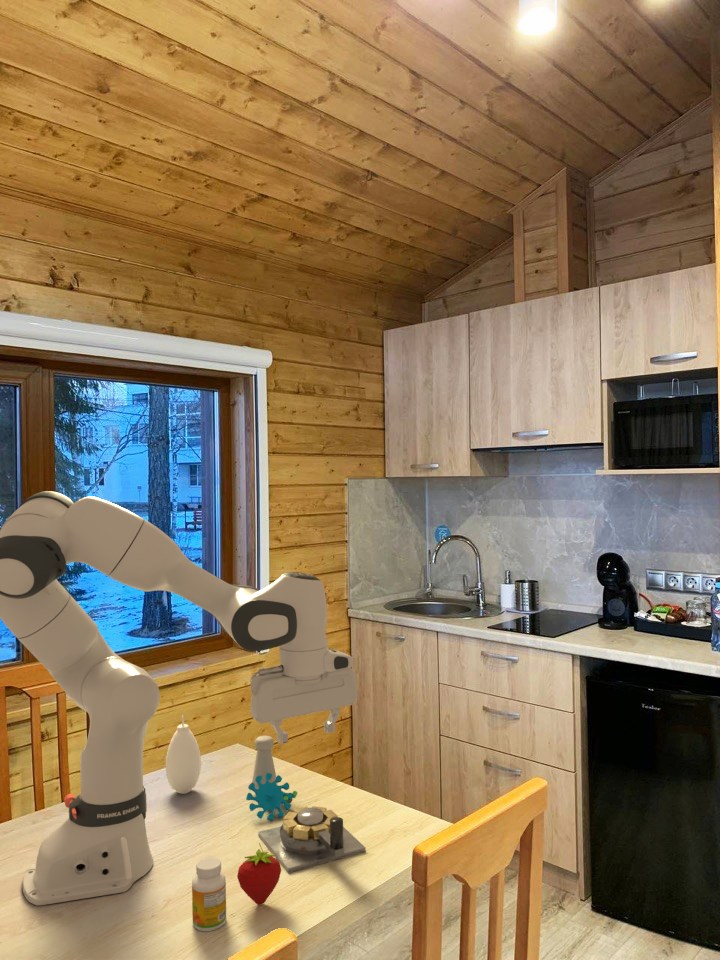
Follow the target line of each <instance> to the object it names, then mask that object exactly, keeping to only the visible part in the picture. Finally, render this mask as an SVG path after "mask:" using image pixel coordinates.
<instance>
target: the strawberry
mask: <svg viewBox="0 0 720 960" xmlns="http://www.w3.org/2000/svg"><path fill="white" fill-rule="evenodd" d="M258 845H259V847H260V848H258V849H257V851H256V852H255V854H254V855H249V856H244V859H246V860H245V861H243V862H242V863H241V864H240V866H239V867H238V870H237V875H236V877H237V881H238V883H239V886H240V888H241V890H243V892H244V893H245V894H246V895H247V897H249V899H250V900H252V901H253V902H254V903H255V904H256V905H257V906H261V905H262V906H263V904H265V903H266V901H267V899H268V898H269V897H270V896H271V895H272V893H273V892H274V890H275V888H276V886H277V884H278V883H279V881H280V877H281V874H282V873H281V872H282V867H281V863H280V862H279V861H278V859H277V858H276V857H275V856H276V855H274V854H269V851H265V852H264V850H263V848H262V846H261V844H260V842H259V843H258ZM260 849H261V850H260Z"/></svg>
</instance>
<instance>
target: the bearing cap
mask: <svg viewBox="0 0 720 960" xmlns="http://www.w3.org/2000/svg"><path fill="white" fill-rule="evenodd" d="M323 823H324V822H323V811H322V810H321V809H318V808H312V807H308V808H304V809H302V810H300V811H299V812H298V823H297V824H298V825H304V826H315V825H319V824H323ZM257 835H258V837H259V838H260V840H261V841H262V842H263V844H265V846H266V847H267V848H268V850H269V851H270V852H271V854H272V855H276V856H274V858H275V859H276V860H278V861H279V863H280V865H281V866H282V867H283V868H284V870H285V871H286V872H287V873H292V872H296V871H299V870H304V869H307V868H311V867H314V866H319V865H321V864H325V863H329V862H333V861H336V860H340V859H343V858H347V857H351V856H354V855H359V854H361V853H365V852H366V849H367V848H366V846H365V845H364V844H362V843H361V841H359V840H358V839H357V838H356V837H355V836H354V835H353V834H352V833H350V831H349V830H348V829H346V828H345V827H344V826H343V847H344V855H341V856H337V857H335V856H334V855H333V854H332V853H331V852H330V851H329V850H328V849H327V848H326V847H325V846H324V845H323V844H322V843H321V842H320V841H319V839H318V840H313V839H312V837H311V838H310V839H309V840H308V841H306V840H299V839H293V836H290V837H289V836H288V835H287V834H286V833H285V832H284V831H283V823H282V825H281V826H278V827H277V826H276V827H272V828H268V829H265V830H260V831H258V832H257Z"/></svg>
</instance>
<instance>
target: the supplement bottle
mask: <svg viewBox="0 0 720 960" xmlns="http://www.w3.org/2000/svg"><path fill="white" fill-rule="evenodd" d="M195 868H196V869H195V871H196V872H195V873H196V875H195V876H194V877H193V879H192V882H191V891H192V892H191V894H192V897H191V899H192V900H191V901H192V903H191V905H192V908H191V909H192V910H191V912H192V914H191V915H192V925H193V927H194V928H195V929H196V930H198V931H201V932H211V931H214V930H215V931H216V930H218V929H219V928H221V927H223V926H224V924H225V923H226V920H227V889H226V888H227V883H226V876H225V873H223V871H222V860H221V859H219V858H218V857H214V856H213V857H212V856H210V857H209V856H208V857H203V858H201V859H199V860H198V861H197V862H196V866H195Z"/></svg>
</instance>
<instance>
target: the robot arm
mask: <svg viewBox="0 0 720 960" xmlns="http://www.w3.org/2000/svg"><path fill="white" fill-rule="evenodd" d="M71 563H81V564H85V565H87V566H90V567H91V568H93V569H95V570H97V571H98V572H100V573H101V574H103V575H105V576H107V577H109V578H110V579H113V580H114V581H115V582H118V583H120V584H122V585H126V586H128V587H130V588H132V589H136V590H138V591H139V590H140V591H142V592H154V591H164V592H169V593H173V594H175V595H177V596H179V597H181V598H183V599H185V600H187V601H188V602H190V603H191V604H194V605H195V606H197V607H199V608H201V609H203V610H205V611H207V612H208V613H210V614H211V615H212V616H213V617H214V618H215V620H216V621H217V623H218V624H219V626H220V628H222V630H223V631H224V632H225V633H226V634H227V635H229V637H231V639H232V640H234V642H235V643H236V644H237V645H238V646H239V647H241V648H242V649H244V650H246V651H250V652H263V651H267V650H270V649H274V648H278V647H279V649H278V650H279V665H276V666H271V667H267V668H260V669H258V670H257V671H256V672H254V674H252V676H251V677H250V691H251V696H250V697H251V698H250V715H251V717H252V718H253V720H255V722H257V723H259V724H268V723H269V724H270V725H271V727H272V729H274V732H275V733H276V741H277V743H278V744H279V745H282V744H285V743H288V742H289V739H288V738H289V733H288V732H286V730H282V729H281V726H282V725H283V720H286V719H290V718H295V717H300V716H305V715H306V716H307V715H310V714H311V715H312V714H314V713H320V712H325V711H329V712H330V713H329V715H328V718H327V720H326V721H323V732H324V733H326V734H331V733H334V732H335V731H336V725H335V723H336V722H337V720H338V718H339V716H340V713H341V708H344V707H349V706H353V705H355V703H356V702H357V700H358V697H359V695H358V693H359V692H358V681H357V675H356V672H355V670H354V669H353V668H352V667H353V665H354V658H353V657H352V656H351V655H349V654H347V653H345V652H343V651H341V650H336V649H334V648H333V649H332V648H329V643H328V642H329V641H328V639H327V638H328V637H327V635H326V627H327V623H328V609H327V607H328V606H327V597H326V591H325V587H324V584H323V582H322V581H321V580H320V578H318V577H317V576H315V575H312V574H307V573H304V572H298V571H297V572H293V571H290V572H288V571H287V572H284V573H282V574H281V575H280V576H279V577H278V578H277V579H276V580H275V581H273V582H272V583H269V584H268V585H267V586H266V587H263V588H262V589H259V588H257V587H255V586H251V585H243V584H234V583H229V582H227V581H225V580H223V579H221V578H220V577H218V576H216V575H214V574H213V573H211V572H209V571H208V570H206V569H204V568H202V567H201V566H200V565H197V564H196V563H194V562H193V561H192V560H191V559H189V558H188V557H187V556H186V554H184V552H183V551H182V550H181V548H180V547H179V546H178V544H177V543H176V542H175V541H174V540H173V539H172V538H171V537H170V536H169V535H167V533H165V532H164V531H163V530H161V529H160V528H159V527H158V526H156V525H154V524H153V523H152V522H150V521H149V520H147V519H145V518H143V517H142V516H139V515H137V513H134V512H133V511H130V510H129V509H126V508H124V507H121V506H120V505H118V504H115V503H112V502H110V501H108V500H105V499H101V498H99V497H97V496H85V497H81V498H80V499H78V500H76V501H75V502H73V501H72V500H71V498H69V497H68V496H66V495H64V494H62V493H60V492H56V491H51V490H50V491H48V490H46V491H41V492H38V493H34V494H32V495H31V496H29V497H28V498H26V499H25V500H23V501H22V502H21V503H20V504H19V506H18V507H17V509H16V510H14V512H13V513H12V514H11V515H10V516H8V518H7V519H6V520H5V521H4V523H3V525H2V527H1V528H0V620H1V621H2V622H3V624H4V625H5V627H6V628H8V630H9V631H10V632H11V633H12V634H13V636H15V638H16V639H17V640H18V641H19V642H20V643H21V644H22V645H23V646H24V647H25V648H26V649H27V650H28V651H29V652H30V653H31V655H33V656H34V658H35V659H36V660H37V661H38V662H39V663H40V664H41V665H42V666H43V667H44V669H46V670H47V671H48V673H49V674H50V676H51V677H52V678H53V680H54V681H55V682H56V683H57V684H58V686H60V689H62V691H64V693H65V694H66V695H67V696H68V697H69V698H70V700H71V701H72V702H73V703H74V704H75V705H76V706H77V707H78V708H80V709H81V710H83V711H85V712H87V713H88V716H89V730H88V733H87V734H88V736H87V740H86V744H85V746H84V748H82V750H81V752H80V757H79V762H80V763H79V767H80V768H79V770H80V771H79V772H80V773H79V774H80V775H79V777H80V794H79V795H77V796H76V795H74V793H67V795H65V797H64V799H63V802H64V806H65V807H66V808H68V818H67V819H66V820H65V821H64V822H62V823H61V824H60V825H59V826H58V827H57V828H56V829H55V830H53V831H52V832H51V833H50V834H49V835H48V836H46V837H45V838H44V839H43V841H42V842H41V844H40V846H39V849H38V853H37V856H36V860H35V861H36V862H35V863H32V864H31V865H29V867H28V868H27V869H26V871H25V872H24V874H23V877H22V891H23V895H24V897H25V899H26V900H27V901H28V902H29V903H30V904H32V905H34V906H44V905H52V904H57V903H64V902H65V903H66V902H70V901H76V900H82V899H88V898H95V897H102V896H108V895H114V894H119V893H120V894H121V893H125V892H126V891H128V890H129V889H130V888H131V887H132V885H133V884H134V882H136V881H137V880H139V879H140V878H141V877H144V876H145V875H146V874H147V873H148V872H149V871H150V870H151V869H152V867H153V864H154V858H153V855H152V852H151V849H150V844H149V840H148V835H147V829H146V819H147V817H146V816H147V810H148V809H147V792H146V788H145V786H144V745H145V740H146V739H145V738H146V734H147V730H148V725H149V721H150V720H151V719H153V717H155V714H156V713H157V710H158V708H159V705H160V700H161V693H160V688H159V686H158V684H157V682H156V681H155V680H154V678H153V677H152V675H150V674H149V673H148V671H146V670H145V669H144V668H143V667H140V666H138V665H136V664H133V663H132V662H129V661H127V660H125V659H123V658H122V657H121V656H119V655H118V654H117V653H115V651H114V650H113V649H112V648H111V647H110V645H109V644H108V643H107V642H106V640H105V638H104V636H103V635H102V634H101V632H100V630H99V627H98V624H97V623H96V622H95V621H94V620H93V619H92V617H90V615H89V614H88V613H87V612H86V611H85V609H84V608H83V607H82V606H81V605H80V604H79V603H78V601H76V599H74V597H73V596H72V595H71V594H70V593H69V591H68V590H67V589H66V588H65V587H64V586H63V585H62V584H61V583H60V582H59V581H58V580H57V579H58V578H60V577H62V576H63V575H64V574H66V572H67V565H68V564H71Z"/></svg>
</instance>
